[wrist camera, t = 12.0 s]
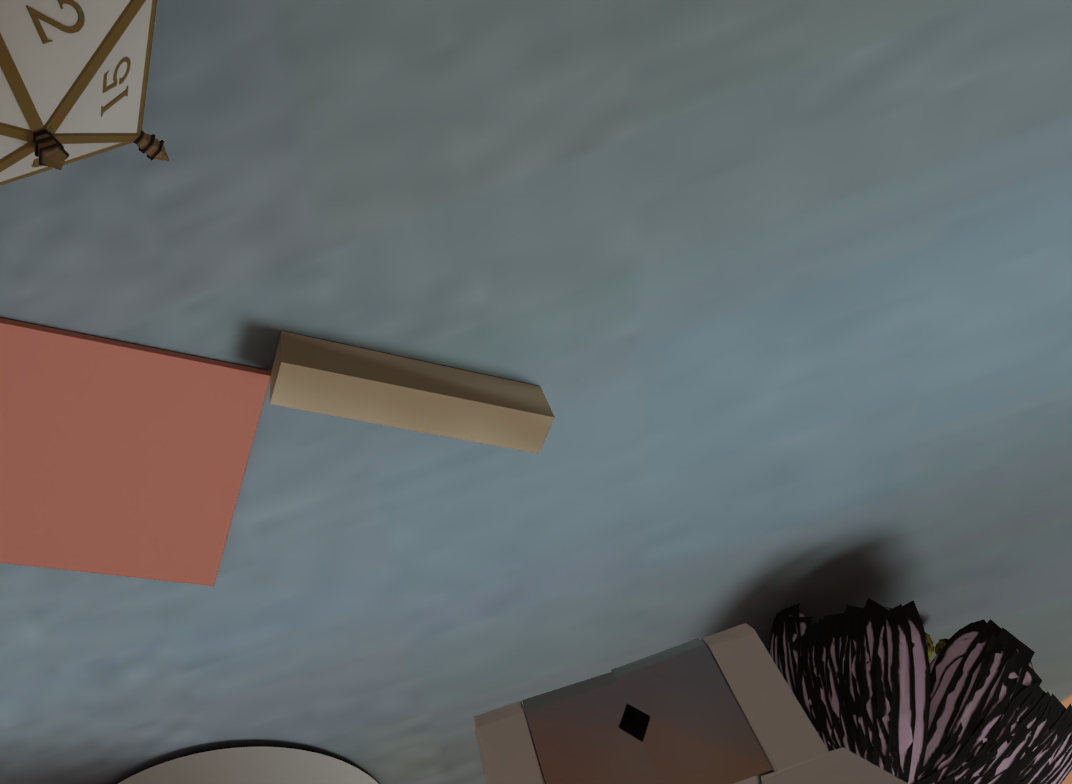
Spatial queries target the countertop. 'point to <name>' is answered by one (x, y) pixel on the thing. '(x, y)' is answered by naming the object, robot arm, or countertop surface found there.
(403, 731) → the countertop surface
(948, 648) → the decorative flower
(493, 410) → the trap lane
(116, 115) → the game die
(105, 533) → the mats
